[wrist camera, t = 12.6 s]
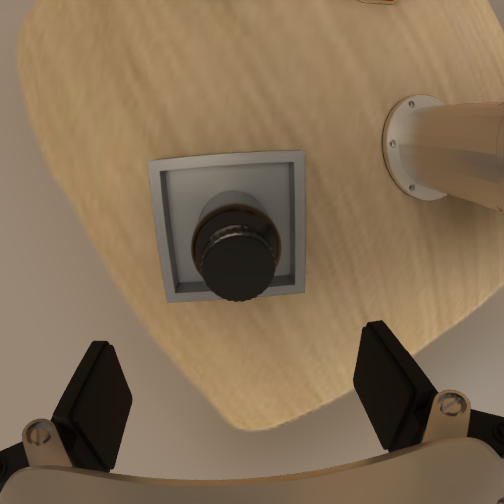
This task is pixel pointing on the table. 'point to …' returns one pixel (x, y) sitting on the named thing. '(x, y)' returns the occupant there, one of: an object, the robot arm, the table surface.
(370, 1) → the milk carton
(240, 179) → the box
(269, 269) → the supplement bottle
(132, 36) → the table surface
